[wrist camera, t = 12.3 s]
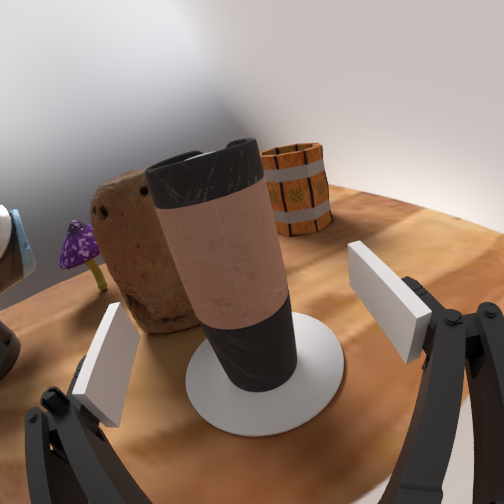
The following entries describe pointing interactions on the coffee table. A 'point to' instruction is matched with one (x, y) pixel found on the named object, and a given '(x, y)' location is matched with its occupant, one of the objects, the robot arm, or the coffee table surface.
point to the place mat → (274, 401)
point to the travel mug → (229, 259)
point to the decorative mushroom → (81, 250)
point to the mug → (297, 188)
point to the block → (139, 254)
